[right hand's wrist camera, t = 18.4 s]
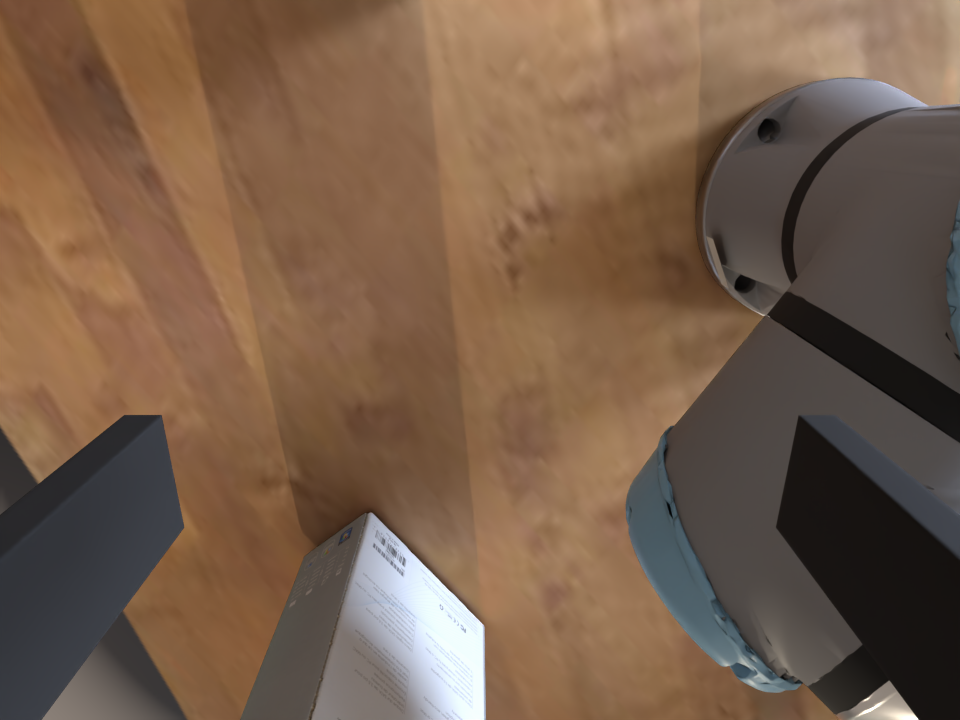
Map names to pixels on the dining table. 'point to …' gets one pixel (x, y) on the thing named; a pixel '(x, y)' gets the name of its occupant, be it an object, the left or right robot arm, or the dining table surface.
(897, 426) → the right robot arm
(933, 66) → the dining table surface
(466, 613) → the hard drive box
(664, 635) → the dining table surface
